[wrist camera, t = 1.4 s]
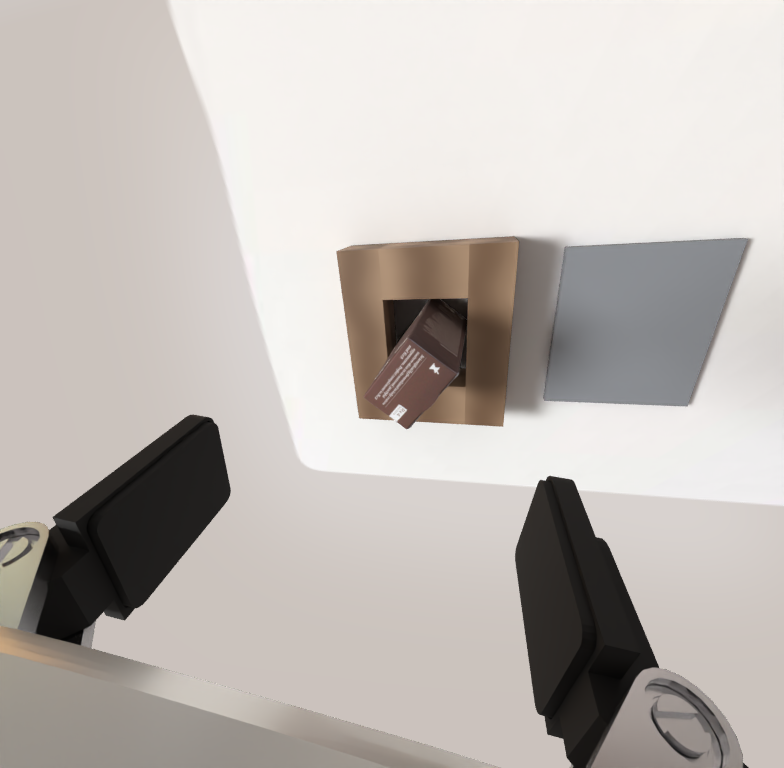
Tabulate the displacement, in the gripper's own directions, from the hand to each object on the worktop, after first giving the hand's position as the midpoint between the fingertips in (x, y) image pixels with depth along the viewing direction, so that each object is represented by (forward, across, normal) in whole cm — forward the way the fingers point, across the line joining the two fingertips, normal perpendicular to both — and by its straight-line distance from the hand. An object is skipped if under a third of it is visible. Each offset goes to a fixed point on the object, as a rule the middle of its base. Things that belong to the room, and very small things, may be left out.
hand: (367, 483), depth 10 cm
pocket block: (+25, 0, +4) cm, 25 cm away
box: (+25, 0, +4) cm, 26 cm away
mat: (+25, -17, +1) cm, 30 cm away
